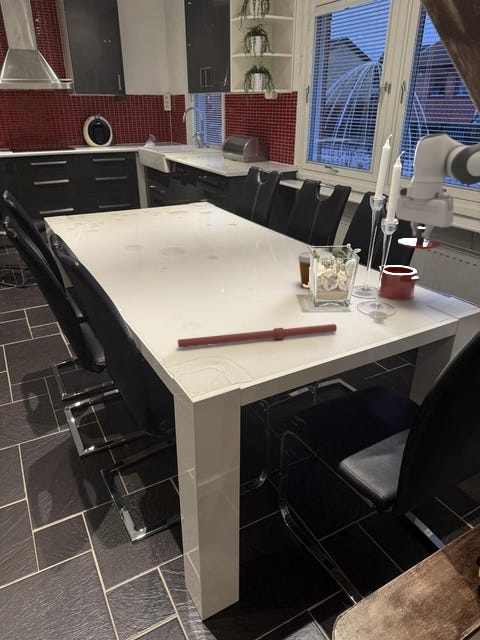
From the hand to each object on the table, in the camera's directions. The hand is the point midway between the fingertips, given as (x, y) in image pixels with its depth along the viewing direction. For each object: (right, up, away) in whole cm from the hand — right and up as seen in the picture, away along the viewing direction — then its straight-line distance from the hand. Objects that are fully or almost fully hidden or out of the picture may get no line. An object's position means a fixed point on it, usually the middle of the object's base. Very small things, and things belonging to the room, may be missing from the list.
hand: (420, 237), depth 145 cm
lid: (0, -2, +1) cm, 2 cm away
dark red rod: (-51, -32, -15) cm, 62 cm away
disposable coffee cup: (-30, -13, +31) cm, 45 cm away
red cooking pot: (-2, -17, +18) cm, 25 cm away
